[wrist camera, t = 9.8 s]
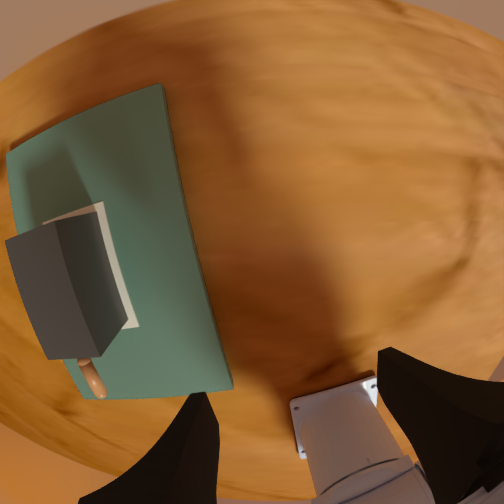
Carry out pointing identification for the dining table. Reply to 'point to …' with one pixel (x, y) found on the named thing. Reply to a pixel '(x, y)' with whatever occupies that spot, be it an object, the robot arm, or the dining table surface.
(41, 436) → the dining table surface
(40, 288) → the block
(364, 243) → the dining table surface
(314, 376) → the dining table surface
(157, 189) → the board
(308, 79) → the dining table surface
